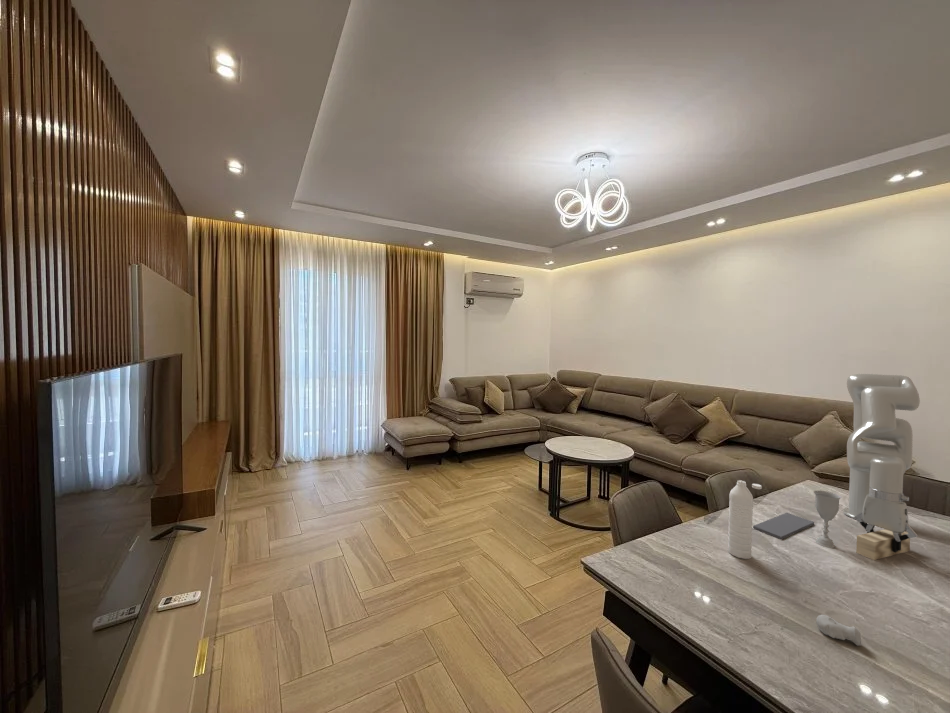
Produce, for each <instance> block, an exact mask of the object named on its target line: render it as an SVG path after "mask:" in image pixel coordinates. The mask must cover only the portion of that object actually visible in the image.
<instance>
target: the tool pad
mask: <svg viewBox="0 0 950 713" xmlns="http://www.w3.org/2000/svg"><path fill="white" fill-rule="evenodd" d="M814 525H815V521H813V520H811V519H807V518H804V517H802V516H798V515H795V514H792V513H790V512H785V513H783V514H780V515H777V516H774V517H772V518H769V519H767V520H765V521H762V522H759V523H757V524H755V525H752V529H753V528H754V530H756V531H758V530H759V531H758V532H761V533H764V534H765V535H766V534H767V535H768V536H771V537H774V538H776V539H779V540H783V539H786V538H788V537H790V536H792V535H795V534H797V533H799V532H800V531H801V532H802V531H804V530H806V529H808V528H810V527H812V526H814Z"/></svg>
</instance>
